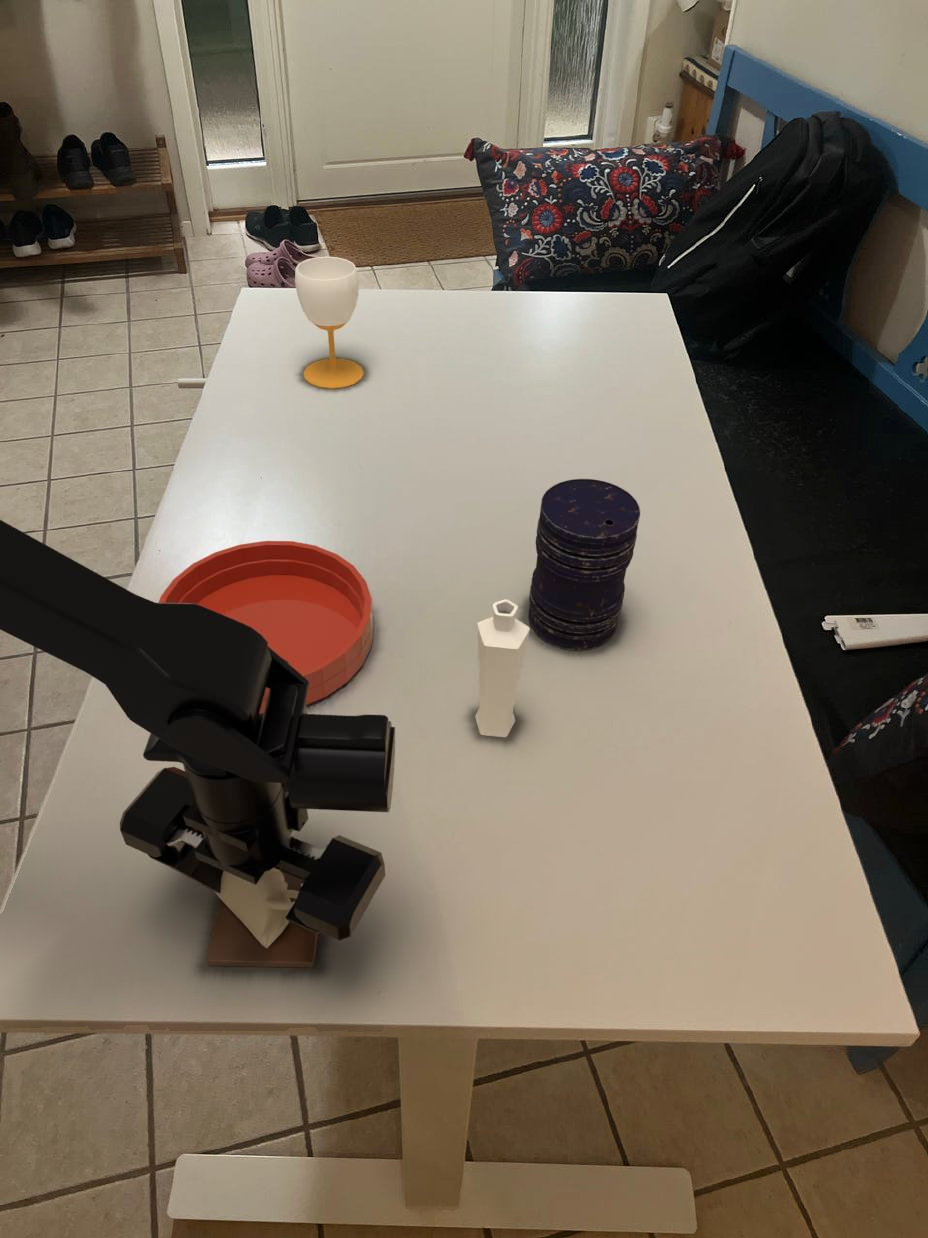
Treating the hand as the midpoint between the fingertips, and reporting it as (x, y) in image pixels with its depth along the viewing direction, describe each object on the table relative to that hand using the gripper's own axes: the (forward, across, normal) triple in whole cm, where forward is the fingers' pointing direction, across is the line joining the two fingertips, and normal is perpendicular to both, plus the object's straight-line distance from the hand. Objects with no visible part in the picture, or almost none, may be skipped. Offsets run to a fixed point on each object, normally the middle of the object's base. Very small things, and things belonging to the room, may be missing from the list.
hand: (265, 907), depth 69 cm
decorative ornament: (+1, 0, 0) cm, 1 cm away
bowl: (+2, +17, -27) cm, 32 cm away
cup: (+2, +39, -79) cm, 88 cm away
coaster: (+2, 0, 0) cm, 2 cm away
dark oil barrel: (+2, -11, -43) cm, 45 cm away
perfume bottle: (+2, -9, -26) cm, 28 cm away
